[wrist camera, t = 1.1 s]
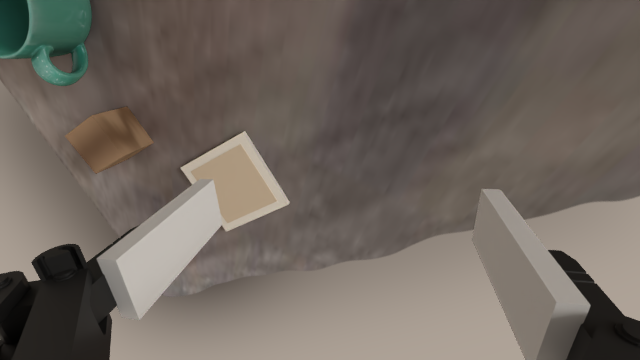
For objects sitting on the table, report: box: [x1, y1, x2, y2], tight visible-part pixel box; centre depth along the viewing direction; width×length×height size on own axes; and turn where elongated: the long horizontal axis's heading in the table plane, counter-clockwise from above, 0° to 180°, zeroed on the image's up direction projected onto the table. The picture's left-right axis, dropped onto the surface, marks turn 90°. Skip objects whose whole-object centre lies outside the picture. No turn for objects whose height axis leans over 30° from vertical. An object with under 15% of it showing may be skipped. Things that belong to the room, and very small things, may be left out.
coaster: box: [181, 131, 290, 231], centre depth 45 cm, size 12×12×1 cm
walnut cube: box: [65, 107, 154, 174], centre depth 43 cm, size 6×6×6 cm
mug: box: [0, 0, 92, 86], centre depth 36 cm, size 17×13×10 cm
